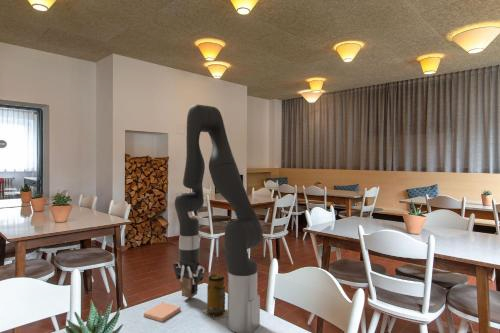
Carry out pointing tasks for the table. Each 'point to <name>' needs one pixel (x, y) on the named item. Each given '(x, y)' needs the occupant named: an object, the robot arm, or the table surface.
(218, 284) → the condiment
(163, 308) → the tile
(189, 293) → the block
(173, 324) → the table surface
